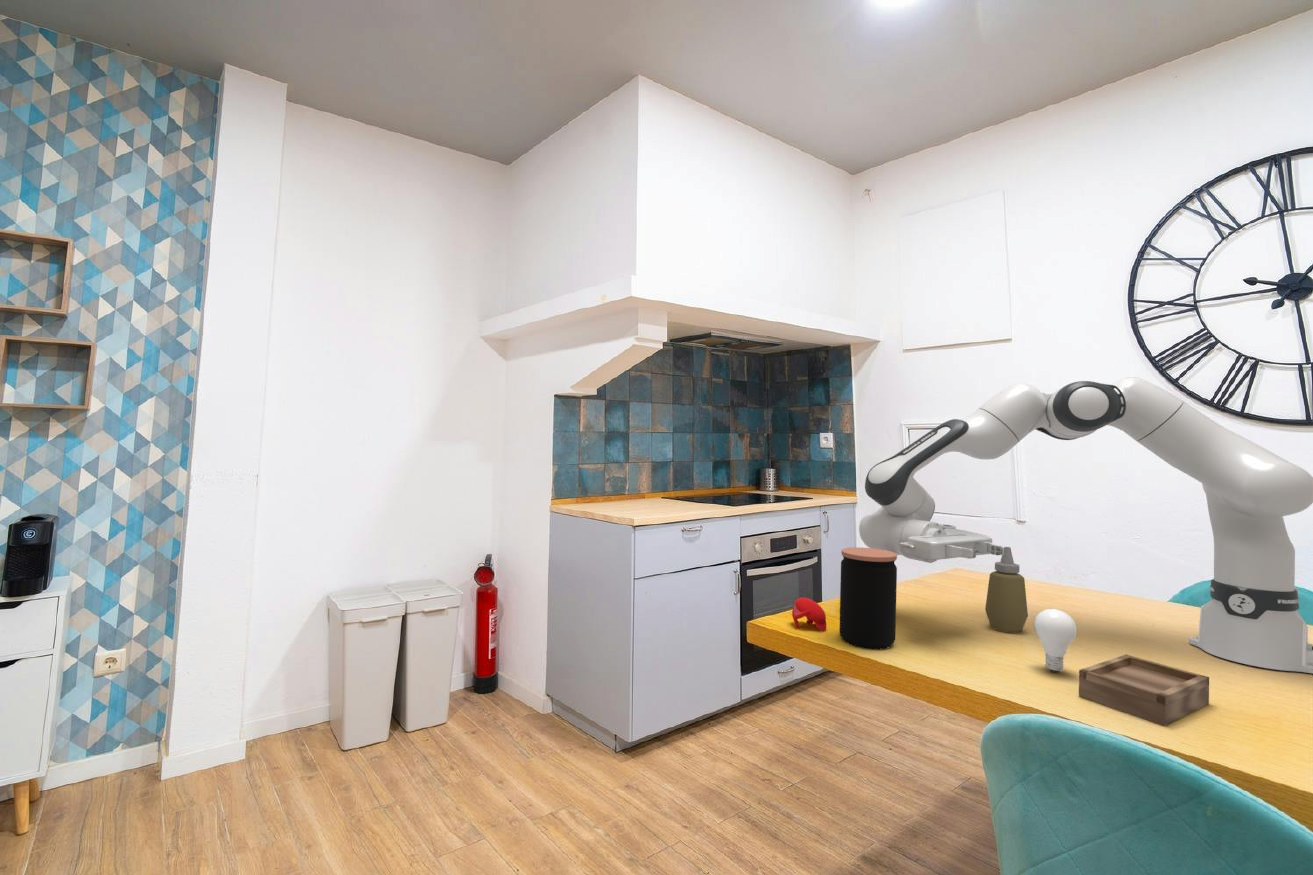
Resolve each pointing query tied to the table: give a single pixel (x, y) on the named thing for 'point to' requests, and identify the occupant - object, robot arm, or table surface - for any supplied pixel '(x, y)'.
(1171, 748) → the table surface
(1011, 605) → the squeeze bottle
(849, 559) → the coffee jar
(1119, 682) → the walnut tray
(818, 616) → the red animal figurine
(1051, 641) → the lightbulb
